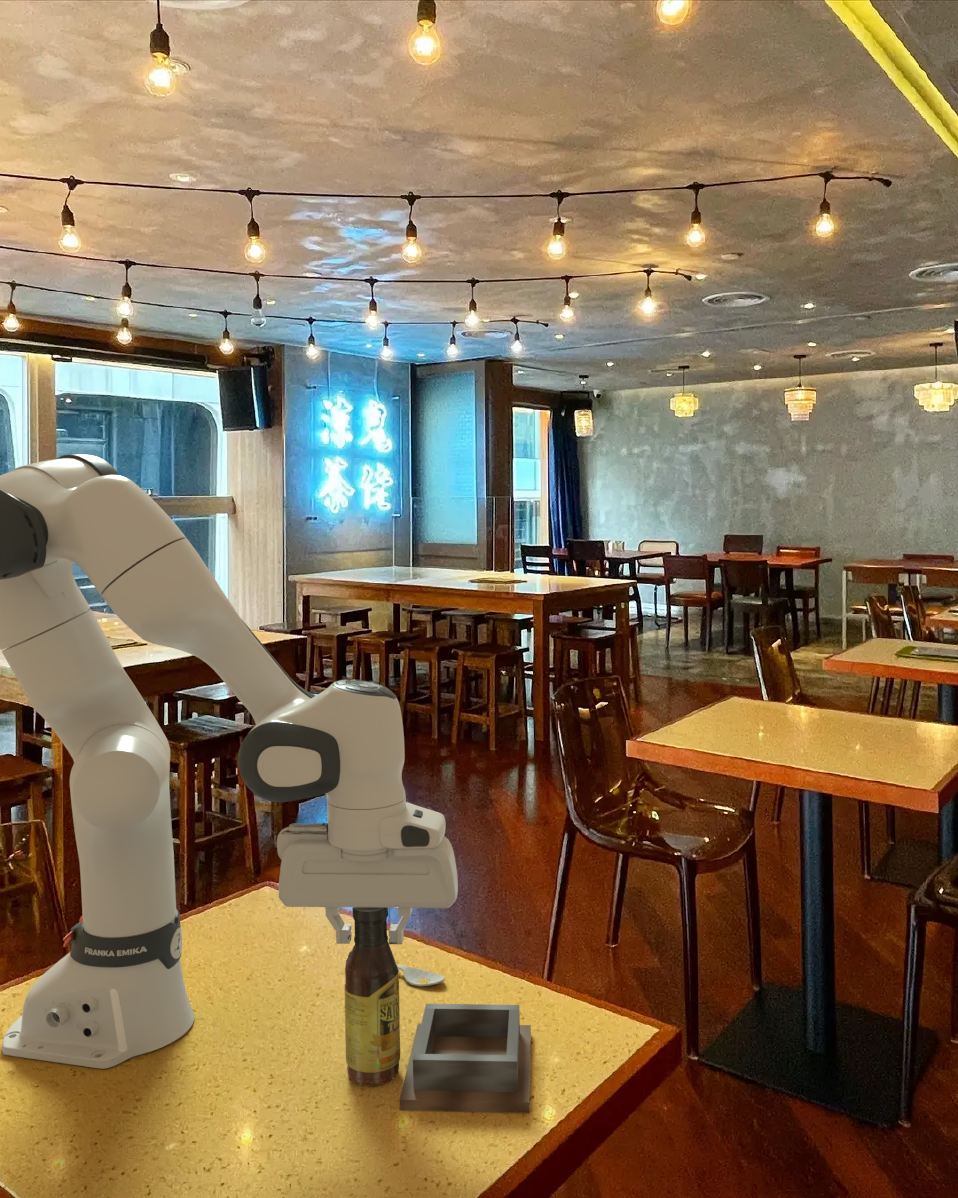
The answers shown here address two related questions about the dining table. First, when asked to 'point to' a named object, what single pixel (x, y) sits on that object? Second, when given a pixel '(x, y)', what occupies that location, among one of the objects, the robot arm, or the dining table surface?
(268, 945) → the dining table surface
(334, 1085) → the dining table surface
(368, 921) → the sauce bottle
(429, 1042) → the box
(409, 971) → the spoon
